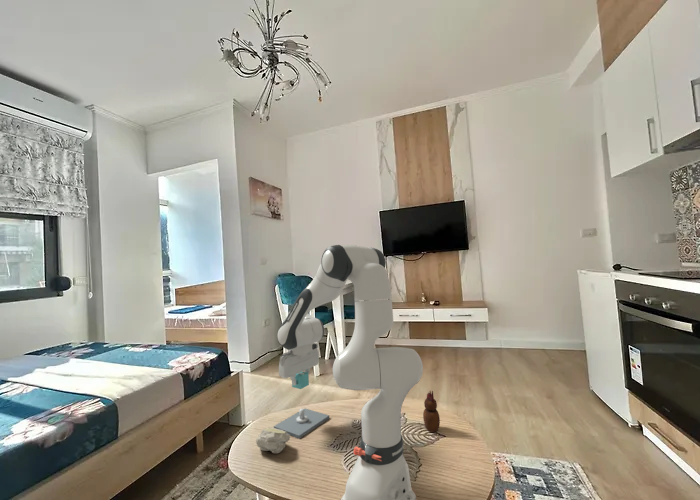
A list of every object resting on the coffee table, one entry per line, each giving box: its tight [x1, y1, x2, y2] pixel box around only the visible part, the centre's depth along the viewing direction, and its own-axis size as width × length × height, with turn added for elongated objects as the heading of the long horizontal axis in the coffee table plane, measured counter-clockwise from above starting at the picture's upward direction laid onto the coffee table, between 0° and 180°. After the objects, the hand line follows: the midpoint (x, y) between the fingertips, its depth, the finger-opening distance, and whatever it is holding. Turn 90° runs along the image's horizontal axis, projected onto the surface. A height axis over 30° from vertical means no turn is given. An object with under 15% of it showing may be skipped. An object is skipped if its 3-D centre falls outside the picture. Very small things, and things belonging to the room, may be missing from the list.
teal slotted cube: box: [291, 371, 310, 390], centre depth 131 cm, size 5×5×5 cm
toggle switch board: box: [273, 407, 330, 440], centre depth 130 cm, size 18×14×6 cm
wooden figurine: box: [422, 390, 441, 433], centre depth 121 cm, size 7×6×15 cm
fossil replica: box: [255, 427, 291, 455], centre depth 112 cm, size 12×8×10 cm
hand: (300, 382), depth 131 cm, fingers closed on teal slotted cube, 5 cm apart
